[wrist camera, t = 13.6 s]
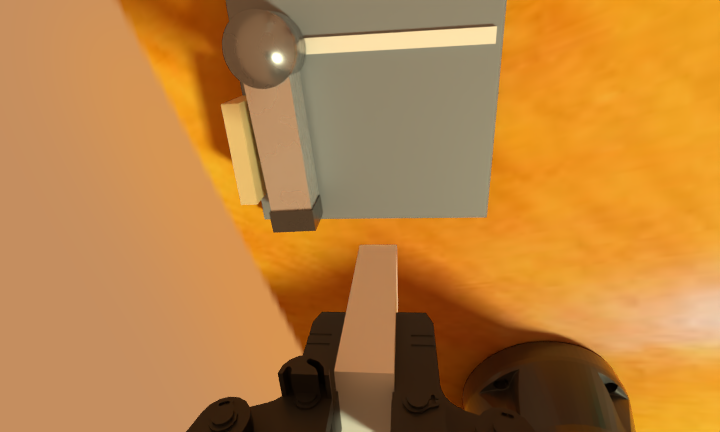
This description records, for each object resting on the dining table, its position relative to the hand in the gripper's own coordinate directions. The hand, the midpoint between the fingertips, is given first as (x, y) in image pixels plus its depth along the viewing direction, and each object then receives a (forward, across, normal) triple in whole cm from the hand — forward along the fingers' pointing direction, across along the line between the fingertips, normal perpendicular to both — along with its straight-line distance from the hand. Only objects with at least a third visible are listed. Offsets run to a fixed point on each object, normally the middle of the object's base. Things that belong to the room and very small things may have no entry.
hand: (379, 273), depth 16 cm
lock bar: (+14, -7, +4) cm, 16 cm away
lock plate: (+16, -2, +9) cm, 18 cm away
